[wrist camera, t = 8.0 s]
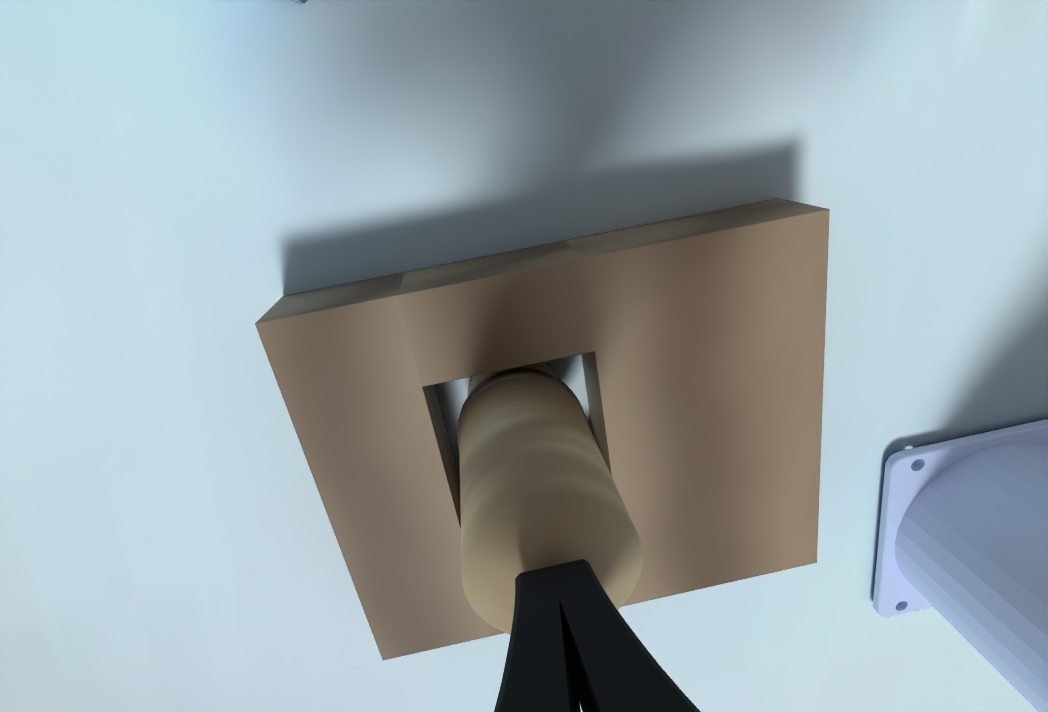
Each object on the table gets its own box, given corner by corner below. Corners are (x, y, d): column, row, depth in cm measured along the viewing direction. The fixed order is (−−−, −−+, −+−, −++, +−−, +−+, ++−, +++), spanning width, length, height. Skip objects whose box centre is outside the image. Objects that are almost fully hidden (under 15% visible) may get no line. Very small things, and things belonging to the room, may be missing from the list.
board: (778, 198, 17) (829, 208, 15) (778, 516, 22) (816, 562, 19) (282, 296, 16) (254, 323, 14) (390, 602, 21) (382, 660, 19)
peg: (568, 337, 18) (648, 481, 11) (570, 439, 19) (642, 629, 12) (451, 346, 18) (450, 502, 10) (461, 449, 19) (467, 651, 12)
